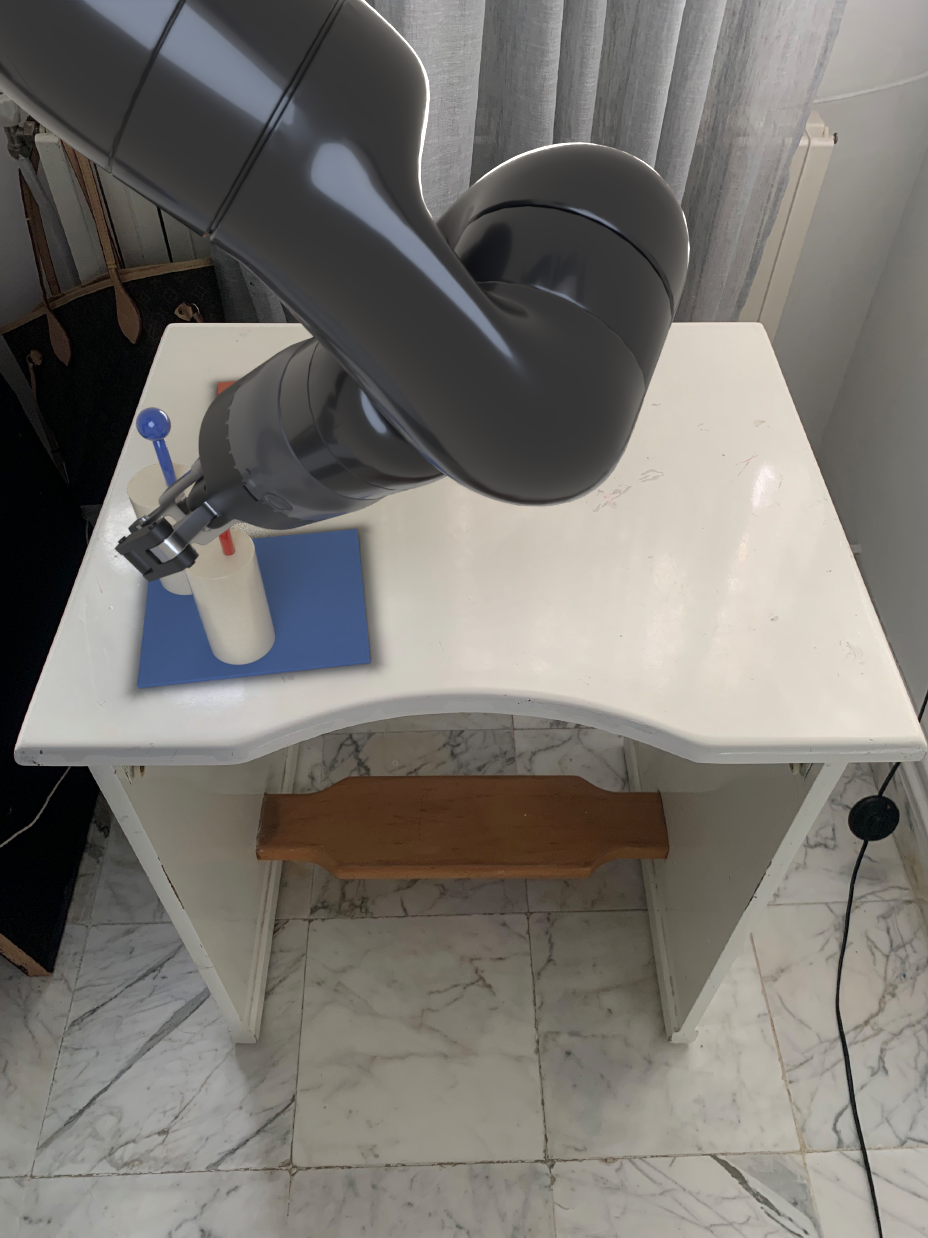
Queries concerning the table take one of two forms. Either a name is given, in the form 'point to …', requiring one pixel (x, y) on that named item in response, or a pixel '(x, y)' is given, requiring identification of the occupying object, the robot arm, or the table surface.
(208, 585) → the red spoon crock
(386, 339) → the robot arm
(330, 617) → the blue mat
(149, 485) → the blue spoon crock
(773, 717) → the table surface
